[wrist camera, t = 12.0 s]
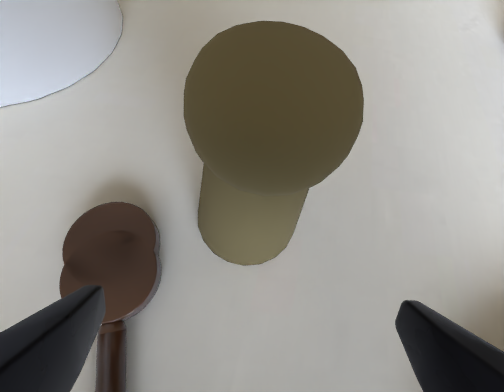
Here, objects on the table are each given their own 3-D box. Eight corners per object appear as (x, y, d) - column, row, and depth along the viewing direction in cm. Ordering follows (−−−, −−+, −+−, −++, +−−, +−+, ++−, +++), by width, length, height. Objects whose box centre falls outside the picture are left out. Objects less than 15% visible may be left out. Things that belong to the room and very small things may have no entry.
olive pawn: (276, 282, 15) (385, 213, 5) (179, 241, 15) (97, 101, 5) (306, 193, 17) (417, 29, 7) (222, 160, 18) (220, -37, 8)
